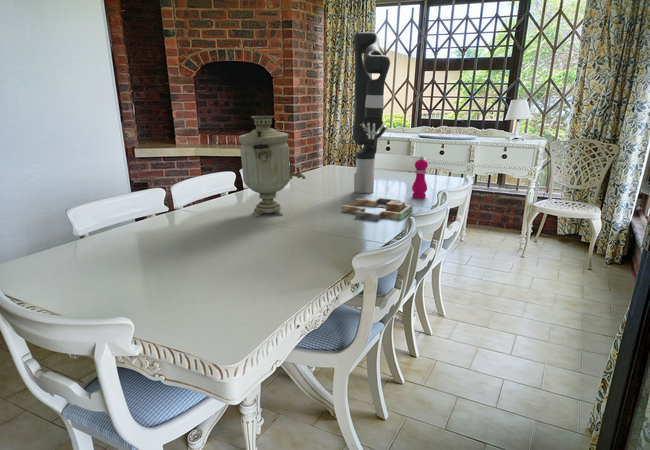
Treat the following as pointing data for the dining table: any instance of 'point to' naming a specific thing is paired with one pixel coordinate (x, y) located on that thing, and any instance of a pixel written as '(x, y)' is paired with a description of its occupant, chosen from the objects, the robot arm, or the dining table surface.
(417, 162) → the pepper mill
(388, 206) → the walnut block
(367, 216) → the wooden strip frame
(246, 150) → the samovar
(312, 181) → the dining table surface
